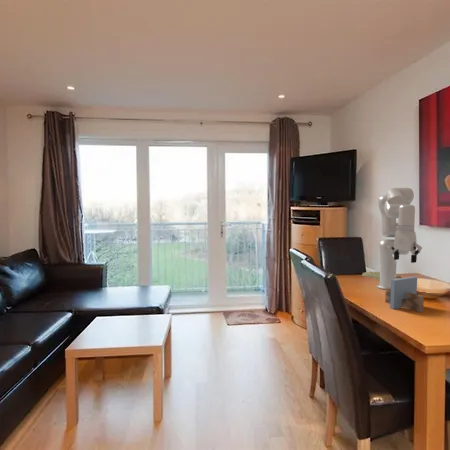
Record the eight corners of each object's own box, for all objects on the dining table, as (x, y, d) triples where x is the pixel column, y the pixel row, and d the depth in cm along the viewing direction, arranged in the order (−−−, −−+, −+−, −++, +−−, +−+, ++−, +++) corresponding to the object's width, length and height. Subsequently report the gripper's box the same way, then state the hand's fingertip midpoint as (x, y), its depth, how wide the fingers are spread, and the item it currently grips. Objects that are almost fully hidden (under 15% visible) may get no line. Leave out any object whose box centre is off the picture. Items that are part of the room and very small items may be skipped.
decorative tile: (401, 279, 247) (401, 274, 247) (380, 281, 240) (380, 276, 240) (381, 274, 265) (381, 270, 265) (361, 276, 258) (361, 271, 258)
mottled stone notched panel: (385, 302, 186) (385, 287, 186) (388, 301, 187) (388, 287, 187) (420, 312, 168) (420, 296, 168) (423, 311, 170) (423, 296, 169)
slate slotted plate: (393, 309, 173) (394, 280, 172) (390, 308, 175) (391, 279, 174) (416, 305, 181) (417, 277, 180) (412, 304, 183) (413, 276, 182)
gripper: (386, 227, 182) (385, 259, 183) (417, 230, 166) (415, 264, 168) (395, 227, 185) (394, 258, 186) (426, 229, 170) (425, 263, 171)
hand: (404, 261), depth 177 cm, fingers open, 9 cm apart
